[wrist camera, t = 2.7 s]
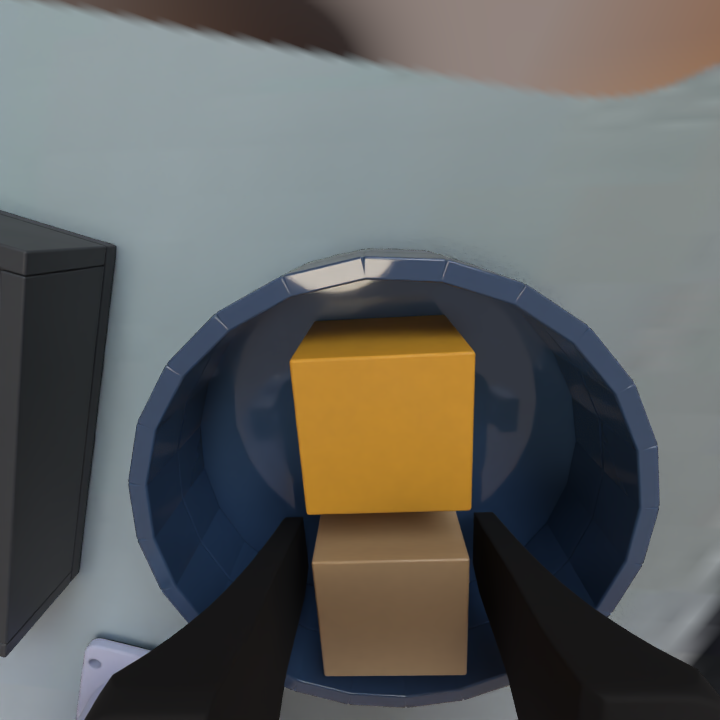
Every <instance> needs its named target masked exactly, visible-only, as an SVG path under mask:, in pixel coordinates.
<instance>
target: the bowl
mask: <svg viewBox="0 0 720 720" xmlns="http://www.w3.org/2000/svg"><path fill="white" fill-rule="evenodd" d="M430 315H445V316H446V317H447V318H448V320H449V321H450V322H451V323H452V325H453V326H454V327H455V328H456V330H457V331H458V332H459V333H460V334H461V336H462V337H463V338H464V339H465V341H466V342H467V343H468V344H469V346H470V347H471V348H472V349H473V350H474V352H475V388H474V426H473V463H472V501H471V509H470V510H469V511H456V514H457V517H458V521H459V524H460V528H461V531H462V535H463V538H464V542H465V545H466V549H467V552H468V556H469V559H470V567H469V604H468V642H467V673H466V675H415V676H325V675H324V668H323V660H322V651H321V642H320V633H319V624H318V615H317V607H316V598H315V589H314V580H313V571H312V558H313V553H314V548H315V542H316V537H317V532H318V526H319V521H320V515H308V514H307V512H306V505H305V497H304V488H303V479H302V470H301V461H300V452H299V443H298V435H297V426H296V417H295V408H294V399H293V390H292V382H291V373H290V364H289V362H290V359H291V358H292V356H293V355H294V353H295V351H296V350H297V348H298V347H299V345H300V344H301V342H302V340H303V339H304V337H305V336H306V334H307V333H308V331H309V330H310V328H311V326H312V325H313V323H314V322H315V321H329V320H349V319H369V318H390V317H410V316H430ZM128 481H129V492H130V498H131V504H132V510H133V517H134V523H135V529H136V536H137V539H138V543H139V545H140V547H141V549H142V551H143V553H144V555H145V557H146V560H147V562H148V564H149V566H150V568H151V570H152V572H153V574H154V576H155V579H156V581H157V583H158V585H159V587H160V589H161V590H162V592H163V594H164V595H165V596H166V597H167V598H168V600H169V601H170V602H171V603H172V604H173V605H174V607H175V608H176V609H177V610H178V611H179V613H180V614H181V615H182V616H183V617H184V619H185V620H186V621H187V622H188V623H190V622H191V621H192V620H193V619H194V618H196V617H197V616H198V615H199V614H200V613H202V612H203V611H204V610H205V609H206V608H207V607H209V606H210V605H211V604H212V603H213V602H214V601H215V600H216V599H217V598H218V597H219V596H220V595H221V594H222V593H223V592H224V591H225V590H226V589H227V588H228V587H229V586H230V585H231V584H232V583H233V582H234V581H235V580H236V578H237V577H238V576H239V575H240V574H241V573H242V572H243V571H244V569H245V568H246V567H247V566H248V565H249V564H250V563H251V561H252V560H253V559H254V558H255V556H256V555H257V554H258V553H259V551H260V550H261V549H262V548H263V546H264V545H265V544H266V542H267V541H268V540H269V538H270V537H271V536H272V534H273V533H274V532H275V530H276V529H277V527H278V526H279V525H280V523H281V522H282V520H283V519H284V518H285V517H303V521H304V530H305V538H306V547H307V555H308V564H309V567H308V576H307V584H306V591H305V598H304V602H303V606H302V610H301V615H300V619H299V623H298V627H297V631H296V635H295V639H294V643H293V647H292V652H291V656H290V660H289V664H288V668H287V673H286V678H285V684H284V687H286V688H288V689H290V690H294V691H296V692H300V693H304V694H308V695H312V696H316V697H320V698H324V699H328V700H332V701H336V702H340V703H344V704H350V705H366V706H383V707H401V708H405V707H408V708H409V707H416V706H424V705H432V704H440V703H447V702H455V701H462V700H463V699H464V700H466V699H469V698H472V697H475V696H478V695H481V694H484V693H487V692H490V691H493V690H497V689H500V688H503V687H506V686H509V685H510V684H509V680H508V677H507V673H506V670H505V667H504V663H503V661H502V658H501V655H500V652H499V649H498V646H497V643H496V640H495V637H494V634H493V632H492V629H491V626H490V623H489V620H488V617H487V614H486V611H485V608H484V605H483V602H482V599H481V596H480V593H479V589H478V585H477V581H476V576H475V571H474V567H473V528H474V512H493V513H494V514H495V515H496V516H497V517H498V518H499V519H500V521H501V522H502V523H503V524H504V525H505V526H506V527H507V529H508V530H509V531H510V532H511V533H512V534H513V535H514V536H515V538H516V539H517V540H518V541H519V542H520V543H521V544H522V545H523V546H524V547H525V548H526V549H527V550H528V551H529V552H530V553H531V554H532V555H533V556H534V557H535V558H536V559H537V560H538V561H539V562H540V563H541V564H542V565H543V566H544V567H545V568H546V569H547V570H548V571H549V572H550V573H551V574H552V575H553V576H555V577H556V578H557V579H558V580H559V581H560V582H561V583H562V584H564V585H565V586H566V587H567V588H569V589H570V590H571V591H572V592H574V593H575V594H576V595H577V596H579V597H580V598H581V599H582V600H584V601H585V602H586V603H588V604H589V605H590V606H592V607H593V608H594V609H596V610H597V611H599V612H600V613H602V614H603V615H605V616H606V617H608V616H609V615H610V613H612V612H613V610H614V609H615V607H616V606H617V604H618V603H619V601H620V599H621V598H622V596H623V595H624V593H625V592H626V590H627V589H628V587H629V585H630V584H631V582H632V581H633V579H634V578H635V576H636V574H637V573H638V571H639V570H640V568H641V567H642V563H643V562H644V559H645V556H646V552H647V549H648V545H649V542H650V538H651V535H652V532H653V528H654V525H655V521H656V518H657V514H658V511H659V505H660V504H659V470H658V447H657V442H656V439H655V436H654V434H653V431H652V428H651V426H650V423H649V420H648V418H647V415H646V412H645V410H644V407H643V404H642V401H641V399H640V396H639V393H638V391H637V388H636V385H635V384H634V382H633V380H632V379H631V378H630V376H629V375H628V374H627V373H626V371H625V370H624V369H623V368H622V366H621V365H620V364H619V363H618V361H617V360H616V359H615V358H614V356H613V355H612V354H611V353H610V351H609V350H608V349H607V348H606V346H605V345H604V344H603V343H602V341H601V340H600V339H599V338H598V336H597V335H596V334H595V333H594V331H593V330H592V329H591V328H589V327H588V325H586V324H585V323H583V322H582V321H581V320H579V319H578V318H576V317H575V316H573V315H572V314H570V313H569V312H567V311H566V310H564V309H563V308H561V307H560V306H558V305H557V304H555V303H554V302H552V301H551V300H549V299H548V298H546V297H545V296H543V295H542V294H540V293H539V292H537V291H536V290H534V289H533V288H531V287H530V286H528V285H526V284H524V283H522V282H520V281H517V280H514V279H511V278H509V277H506V276H503V275H501V274H498V273H495V272H492V271H490V270H487V269H484V268H481V267H478V266H475V265H472V264H468V263H465V262H462V261H459V260H456V259H453V258H449V257H446V256H443V255H440V254H437V253H434V252H430V251H425V250H404V249H366V250H365V249H361V250H357V251H353V252H349V253H344V254H338V255H335V256H332V257H328V258H324V259H320V260H316V261H312V262H308V263H306V264H304V265H302V266H300V267H298V268H296V269H294V270H292V271H290V272H288V273H286V274H284V275H282V276H280V277H278V278H277V279H275V280H273V281H271V282H269V283H268V284H266V285H264V286H262V287H261V288H259V289H257V290H255V291H253V292H252V293H250V294H248V295H246V296H245V297H243V298H241V299H239V300H237V301H236V302H234V303H232V304H230V305H229V306H227V307H225V308H223V309H221V310H220V311H218V312H217V313H216V314H214V315H213V316H212V317H211V318H210V319H209V320H208V321H207V322H206V323H205V324H204V325H203V326H202V327H201V328H200V329H199V330H198V332H197V333H196V334H195V335H194V336H193V337H192V338H191V339H190V340H189V341H188V342H187V343H186V344H185V345H184V346H183V347H182V348H181V349H180V350H179V351H178V352H177V353H176V354H175V355H174V356H173V357H172V358H171V360H170V361H169V362H168V363H167V365H166V366H165V367H164V369H163V371H162V373H161V375H160V378H159V380H158V382H157V384H156V386H155V388H154V390H153V392H152V394H151V396H150V398H149V400H148V402H147V404H146V406H145V408H144V410H143V412H142V414H141V416H140V418H139V420H138V424H137V427H136V434H135V440H134V447H133V454H132V460H131V467H130V474H129V480H128Z"/></svg>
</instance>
